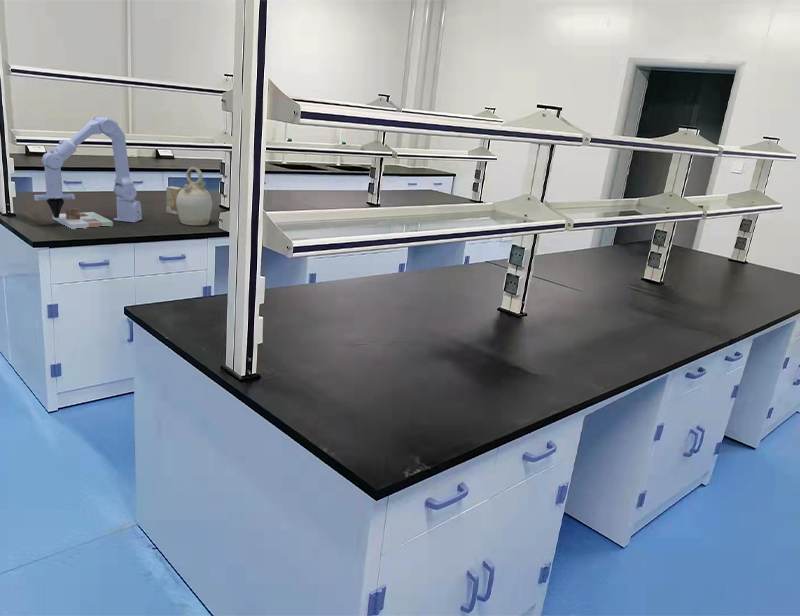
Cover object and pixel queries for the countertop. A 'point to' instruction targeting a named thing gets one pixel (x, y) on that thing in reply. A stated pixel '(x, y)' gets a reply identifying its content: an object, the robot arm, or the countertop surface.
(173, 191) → the skincare box
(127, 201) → the robot arm
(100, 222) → the trap board
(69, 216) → the walnut block
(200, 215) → the jug
